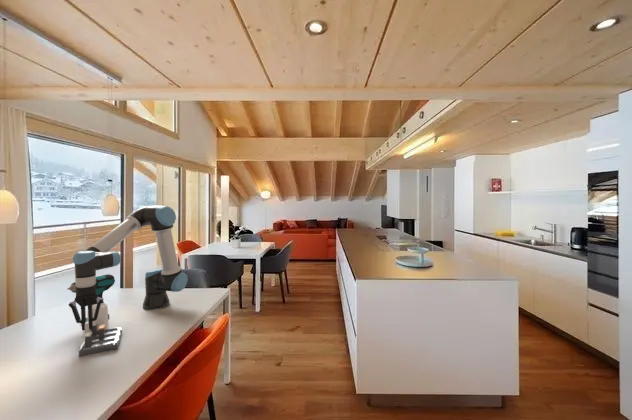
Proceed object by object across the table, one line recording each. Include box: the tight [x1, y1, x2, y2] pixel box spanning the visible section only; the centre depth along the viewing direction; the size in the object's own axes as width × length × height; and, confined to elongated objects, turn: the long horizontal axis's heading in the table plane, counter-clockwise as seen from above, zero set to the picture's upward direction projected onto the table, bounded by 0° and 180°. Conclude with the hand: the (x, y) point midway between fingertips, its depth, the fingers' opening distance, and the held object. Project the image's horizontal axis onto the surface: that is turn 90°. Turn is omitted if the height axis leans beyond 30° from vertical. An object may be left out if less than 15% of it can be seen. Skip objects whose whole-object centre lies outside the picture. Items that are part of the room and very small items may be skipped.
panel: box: [78, 326, 123, 358], centre depth 143 cm, size 14×20×3 cm
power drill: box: [67, 273, 116, 322], centre depth 169 cm, size 26×9×25 cm, turn 169°
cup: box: [86, 302, 109, 332], centre depth 154 cm, size 8×8×14 cm
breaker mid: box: [99, 325, 105, 339], centre depth 143 cm, size 2×4×5 cm, turn 28°
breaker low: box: [91, 322, 97, 335], centre depth 147 cm, size 2×4×5 cm, turn 28°
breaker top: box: [84, 332, 93, 347], centre depth 135 cm, size 2×4×5 cm, turn 28°
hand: (87, 336), depth 140 cm, fingers closed
